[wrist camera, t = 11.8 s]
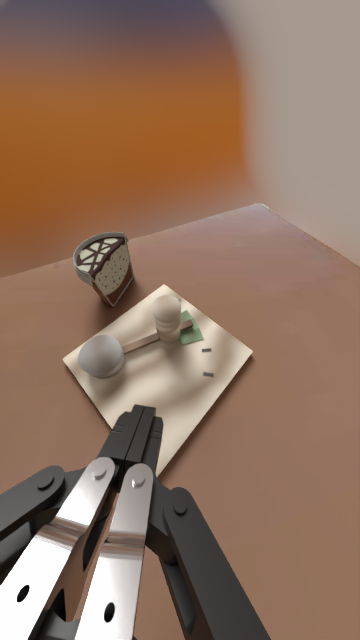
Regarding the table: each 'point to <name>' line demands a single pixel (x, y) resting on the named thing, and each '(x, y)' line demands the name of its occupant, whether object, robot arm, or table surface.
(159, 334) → the peg dial
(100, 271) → the food container
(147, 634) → the table surface
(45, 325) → the table surface
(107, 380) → the dial plate
